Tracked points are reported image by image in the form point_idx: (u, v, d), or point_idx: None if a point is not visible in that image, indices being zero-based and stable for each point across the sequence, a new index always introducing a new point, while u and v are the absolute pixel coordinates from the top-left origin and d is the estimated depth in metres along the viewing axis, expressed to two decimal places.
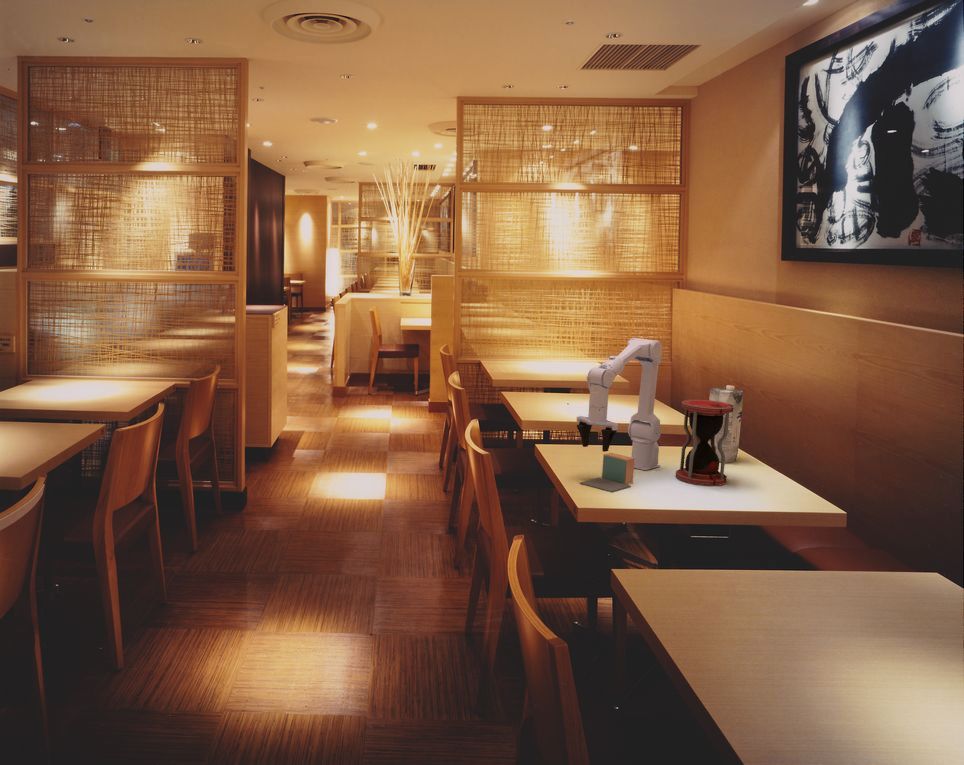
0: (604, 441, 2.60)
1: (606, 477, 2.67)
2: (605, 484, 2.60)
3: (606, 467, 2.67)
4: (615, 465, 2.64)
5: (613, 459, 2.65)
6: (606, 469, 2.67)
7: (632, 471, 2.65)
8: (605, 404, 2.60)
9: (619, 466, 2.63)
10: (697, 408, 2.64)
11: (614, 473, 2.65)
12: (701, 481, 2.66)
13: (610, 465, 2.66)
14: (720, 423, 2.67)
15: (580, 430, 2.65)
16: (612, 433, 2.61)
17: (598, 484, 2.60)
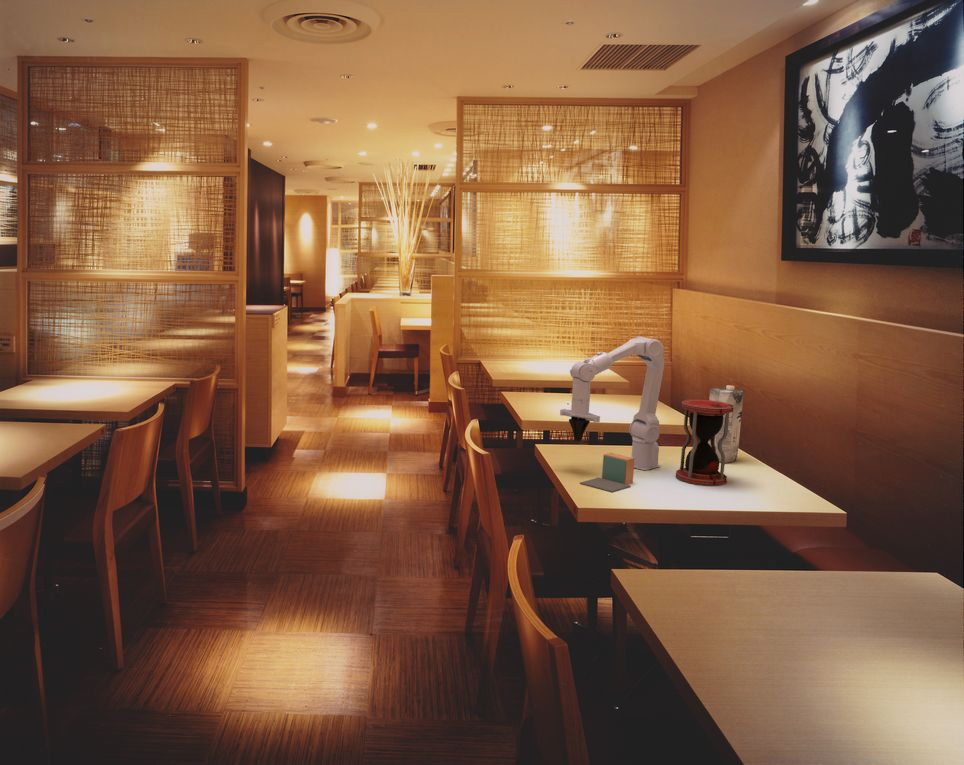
0: (577, 431, 2.72)
1: (606, 477, 2.67)
2: (605, 484, 2.60)
3: (606, 467, 2.67)
4: (615, 465, 2.64)
5: (613, 459, 2.65)
6: (606, 469, 2.67)
7: (632, 471, 2.65)
8: (584, 397, 2.69)
9: (619, 466, 2.63)
10: (697, 408, 2.64)
11: (614, 473, 2.65)
12: (701, 481, 2.66)
13: (610, 465, 2.66)
14: (720, 423, 2.67)
15: (572, 424, 2.73)
16: (585, 423, 2.73)
17: (598, 484, 2.60)
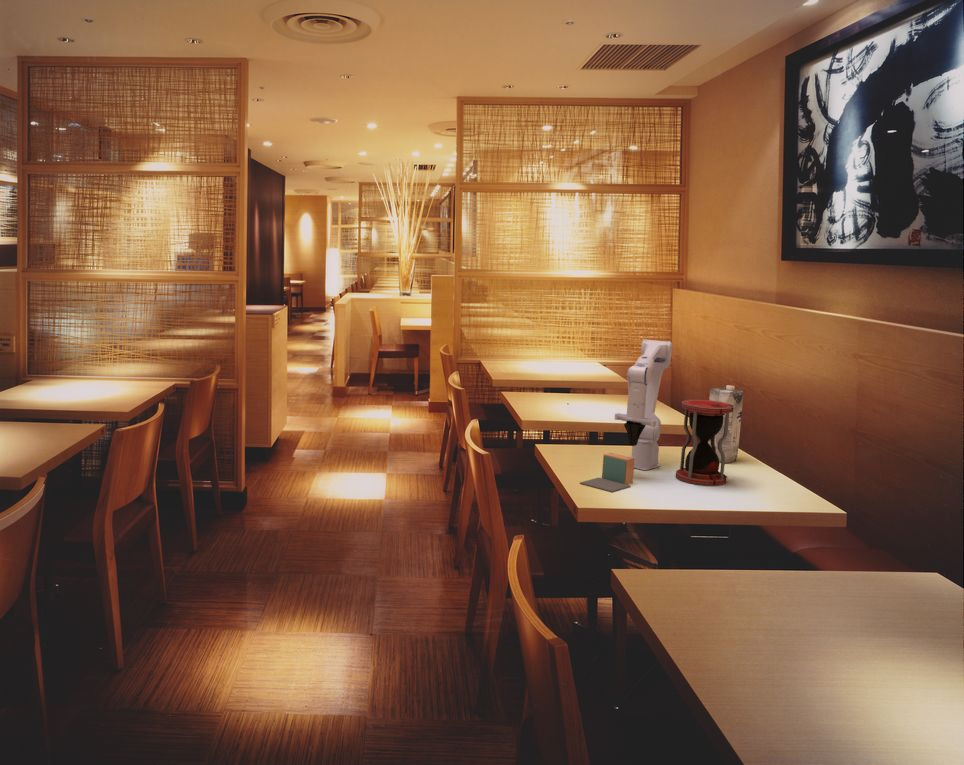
0: (633, 435, 2.69)
1: (606, 477, 2.67)
2: (605, 484, 2.60)
3: (606, 467, 2.67)
4: (615, 465, 2.64)
5: (613, 459, 2.65)
6: (606, 469, 2.67)
7: (632, 471, 2.65)
8: (645, 401, 2.68)
9: (619, 466, 2.63)
10: (697, 408, 2.64)
11: (614, 473, 2.65)
12: (701, 481, 2.66)
13: (610, 465, 2.66)
14: (720, 423, 2.67)
15: (627, 429, 2.70)
16: (641, 428, 2.70)
17: (598, 484, 2.60)
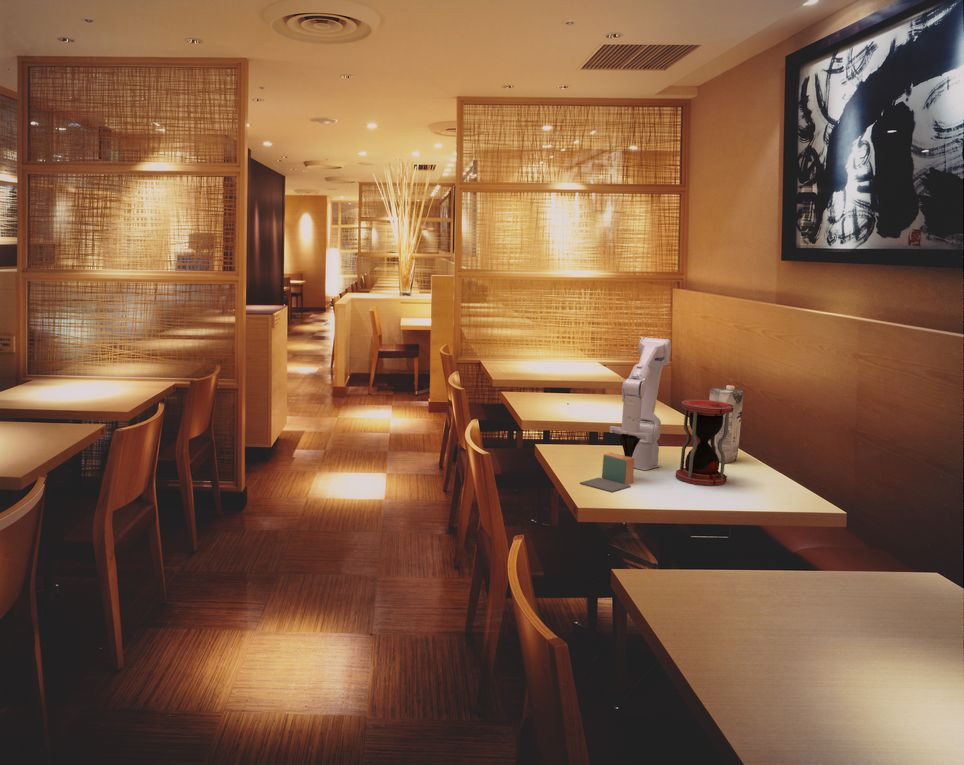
0: (628, 449, 2.68)
1: (606, 477, 2.67)
2: (605, 484, 2.60)
3: (606, 467, 2.67)
4: (615, 465, 2.64)
5: (613, 459, 2.65)
6: (606, 469, 2.67)
7: (632, 471, 2.65)
8: (640, 414, 2.66)
9: (619, 466, 2.63)
10: (697, 408, 2.64)
11: (614, 473, 2.65)
12: (701, 481, 2.66)
13: (610, 465, 2.66)
14: (720, 423, 2.67)
15: (622, 442, 2.68)
16: (636, 441, 2.69)
17: (598, 484, 2.60)
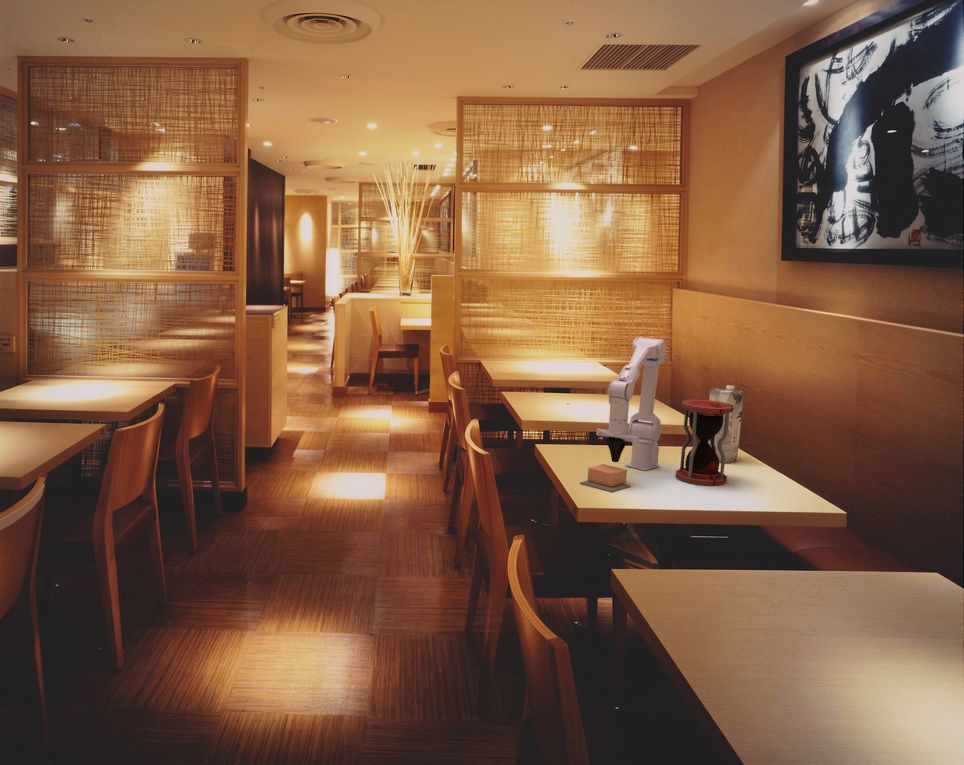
0: (615, 452, 2.62)
1: None
2: None
3: None
4: None
5: None
6: None
7: (620, 473, 2.59)
8: (626, 417, 2.61)
9: None
10: (697, 408, 2.64)
11: None
12: (701, 481, 2.66)
13: None
14: (720, 423, 2.67)
15: (609, 445, 2.63)
16: (623, 444, 2.64)
17: (598, 484, 2.60)
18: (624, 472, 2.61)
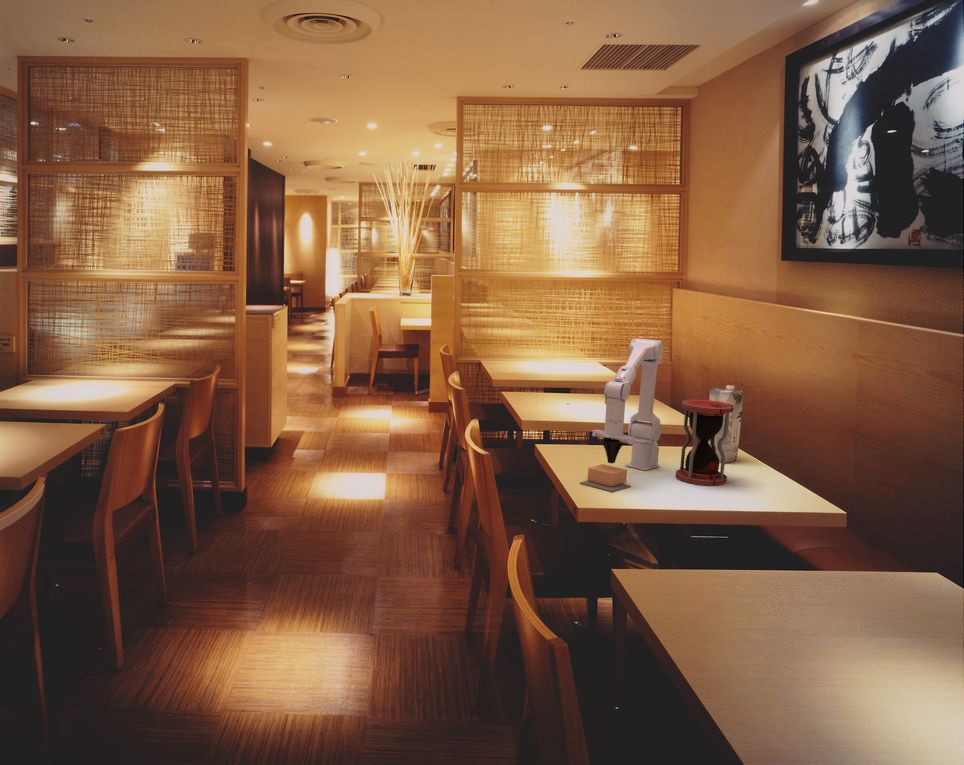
0: (611, 453, 2.61)
1: None
2: None
3: None
4: None
5: None
6: None
7: (620, 473, 2.59)
8: (622, 418, 2.59)
9: None
10: (697, 408, 2.64)
11: None
12: (701, 481, 2.66)
13: None
14: (720, 423, 2.67)
15: (605, 446, 2.62)
16: (619, 445, 2.62)
17: (598, 484, 2.60)
18: (624, 472, 2.61)
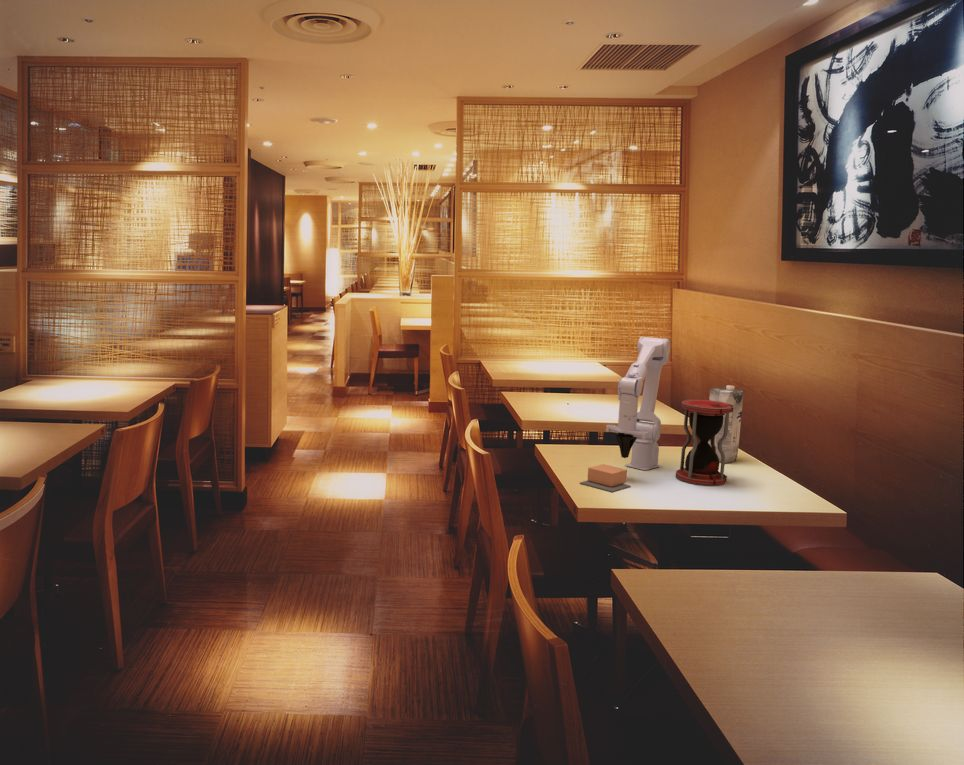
0: (624, 448, 2.66)
1: None
2: None
3: None
4: None
5: None
6: None
7: (620, 473, 2.59)
8: (636, 413, 2.65)
9: None
10: (697, 408, 2.64)
11: None
12: (701, 481, 2.66)
13: None
14: (720, 423, 2.67)
15: (619, 441, 2.67)
16: (632, 440, 2.67)
17: (598, 484, 2.60)
18: (624, 472, 2.61)
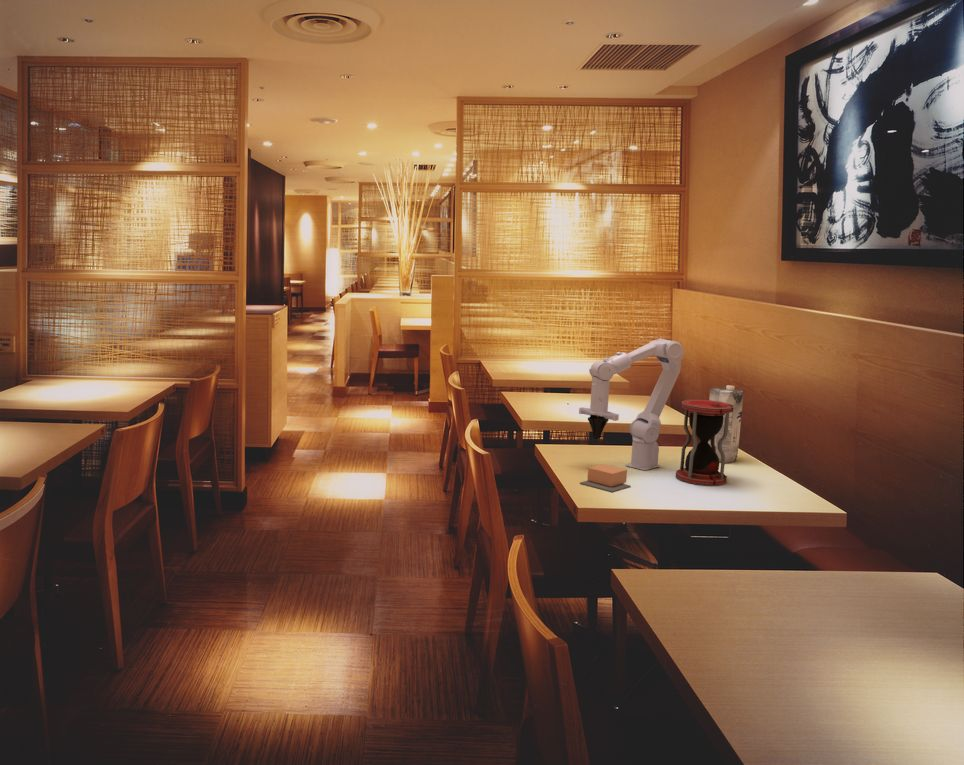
0: (596, 429, 2.76)
1: None
2: None
3: None
4: None
5: None
6: None
7: (620, 473, 2.59)
8: (603, 396, 2.74)
9: None
10: (697, 408, 2.64)
11: None
12: (701, 481, 2.66)
13: None
14: (720, 423, 2.67)
15: (591, 422, 2.77)
16: (604, 422, 2.77)
17: (598, 484, 2.60)
18: (624, 472, 2.61)
